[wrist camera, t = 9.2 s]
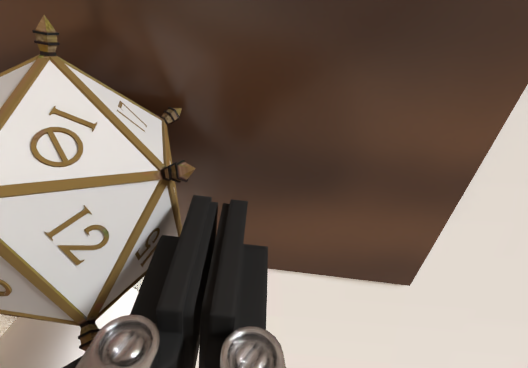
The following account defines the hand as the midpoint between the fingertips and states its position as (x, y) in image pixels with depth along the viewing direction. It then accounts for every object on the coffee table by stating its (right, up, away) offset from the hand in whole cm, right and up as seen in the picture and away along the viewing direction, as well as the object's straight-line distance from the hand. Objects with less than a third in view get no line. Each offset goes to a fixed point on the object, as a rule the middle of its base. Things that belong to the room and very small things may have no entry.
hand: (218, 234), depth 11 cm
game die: (-4, +4, +3) cm, 7 cm away
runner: (-2, +3, +3) cm, 5 cm away
